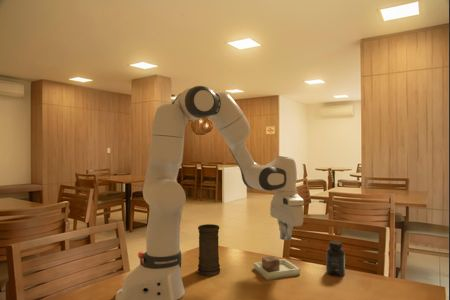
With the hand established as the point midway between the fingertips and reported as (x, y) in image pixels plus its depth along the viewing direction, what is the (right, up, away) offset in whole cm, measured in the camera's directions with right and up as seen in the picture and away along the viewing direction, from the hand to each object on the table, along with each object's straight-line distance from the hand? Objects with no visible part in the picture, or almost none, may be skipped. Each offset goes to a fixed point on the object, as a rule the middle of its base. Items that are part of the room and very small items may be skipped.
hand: (285, 232), depth 132 cm
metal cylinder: (0, -2, 0) cm, 2 cm away
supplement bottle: (+19, -16, -2) cm, 25 cm away
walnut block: (-6, -15, -2) cm, 16 cm away
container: (-30, -16, 0) cm, 34 cm away
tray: (-4, -15, 0) cm, 16 cm away
